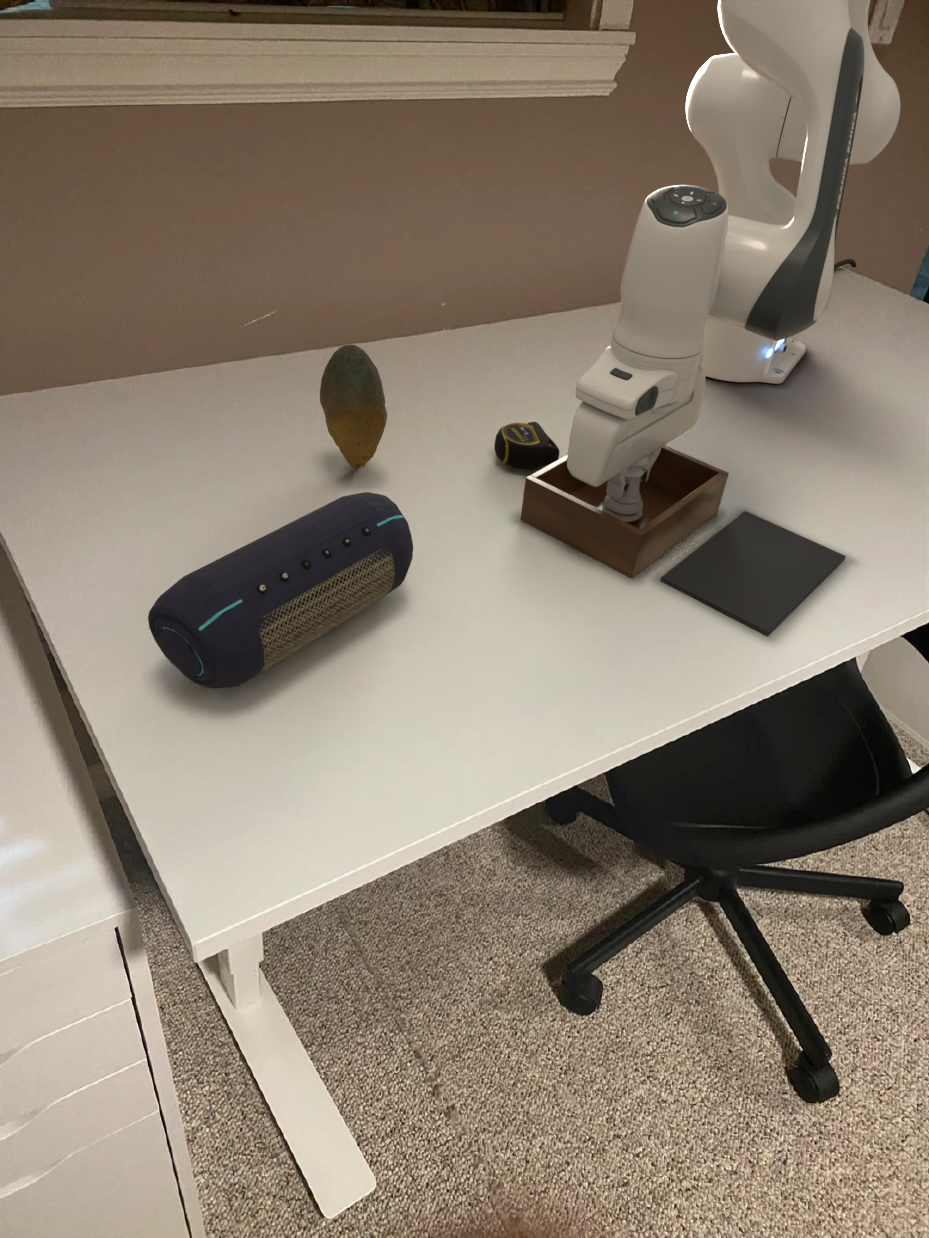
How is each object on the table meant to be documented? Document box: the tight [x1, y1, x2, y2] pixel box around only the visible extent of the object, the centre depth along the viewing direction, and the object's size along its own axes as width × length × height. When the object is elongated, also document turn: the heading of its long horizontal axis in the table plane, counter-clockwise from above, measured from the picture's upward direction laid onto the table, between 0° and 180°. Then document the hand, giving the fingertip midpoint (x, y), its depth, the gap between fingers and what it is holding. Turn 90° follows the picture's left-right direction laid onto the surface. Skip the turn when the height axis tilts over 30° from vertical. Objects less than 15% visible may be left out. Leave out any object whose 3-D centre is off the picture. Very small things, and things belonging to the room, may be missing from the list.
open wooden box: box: [519, 444, 730, 579], centre depth 99 cm, size 18×15×5 cm
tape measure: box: [494, 421, 560, 471], centre depth 108 cm, size 7×7×4 cm
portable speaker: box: [147, 491, 414, 690], centre depth 80 cm, size 25×10×10 cm, turn 139°
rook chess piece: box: [602, 456, 648, 523], centre depth 98 cm, size 4×4×8 cm
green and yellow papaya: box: [319, 344, 388, 473], centre depth 100 cm, size 10×6×15 cm, turn 37°
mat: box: [659, 510, 847, 637], centre depth 95 cm, size 18×12×1 cm, turn 138°
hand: (626, 488), depth 99 cm, fingers closed on rook chess piece, 3 cm apart
